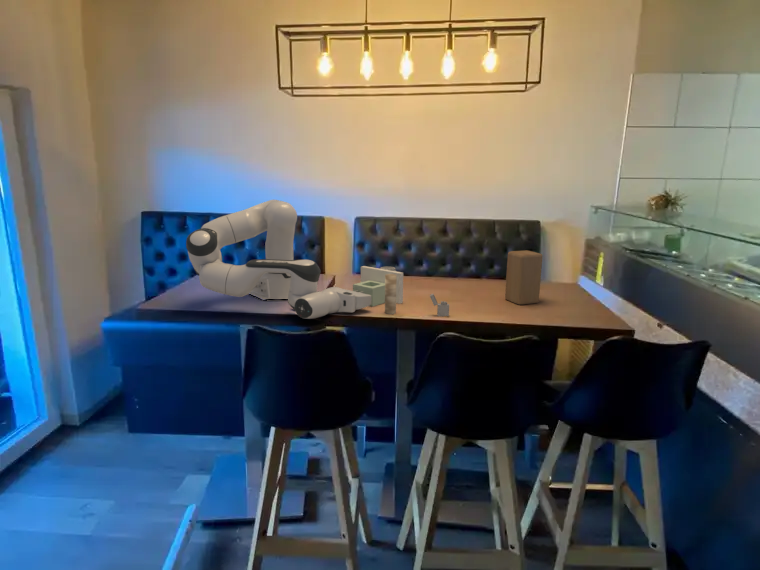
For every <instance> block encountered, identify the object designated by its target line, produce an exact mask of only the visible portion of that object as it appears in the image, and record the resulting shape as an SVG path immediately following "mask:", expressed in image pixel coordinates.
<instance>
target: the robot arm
mask: <svg viewBox="0 0 760 570" xmlns="http://www.w3.org/2000/svg"><path fill="white" fill-rule="evenodd" d="M297 221H298V213H297V210H296V209H295V207H294V206H293V205H292V204H291V203H289V202H287V201H282V200H278V199H269V200H267V201H264V202H260V203H258V204H255V205H253V206H251V207H248V208H246V209H243V210H239V211H236V212H232V213H229V214H225V215H222V216H219V217H217V218H215V219H211V220H210V221H208V222H206V223H204V224H203V225H202V226H201V227H200V228H198V229H196V230H194V231H192V232H190V233H189V234H188V235H187V237H186V240H185V241H186V242H185V245H186V250H187V254H188V259H189V262H190V263H191V265H192V267H193V271H194V272H195V274H196V275H197V277H198V279H199V282H200V285H201V286H202V287H203V288H205V289H208V290H210V291H212V292H215V293H219V294H222V295H224V296H225V295H227V296H232V297H237V298H241V297H246V296H248V295H249V293H250V294H252V295H255V296H257V297H259V298H262V299H288V300H287V303H288V305H289V306H290V307H291V308H292V309H293V311H295V313H296V315H297V316H298V317H300V318H302V319H307V320H311V319H312V320H313V319H316V318H322V317H324V316H326V315H330V314H331V315H332V314H335V313H355V311H356V310H361V309H365V308H368V307H371V306H370V305H371V302H372V298H371V295H368V294H364V292H363V291H358V290H357V291H353V290H349V289H346V288H345V289H344V288H341V287H339V286H331V287H328V288H325V289H322V291H317V290H318V289H317V288H318V284H319V283H318V282H319V281H320V280H319V279H320V276H321V269H320V266H319V265H318V264H317V262H315V261H314V260H312V259H294V240H295V232H296V223H297ZM265 232H266V237H265V238H266V240H265V243H264V244H265V245H264V248H265V249H264V251H265V258H264V259H263V258H262V259H261V258H258V259H257V258H256V259H251V260H248V261H247V262H246V263H245V264H241V265H237V264H231V263H225V262H223V256H222V252H221V249H223V247H226V246H230V245H234V244H236V243H239V242H242V241H246V240H249V239H253V238H255V237H256V236H259V235H261V234H262V233H265Z"/></svg>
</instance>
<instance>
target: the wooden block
mask: <svg viewBox="0 0 760 570" xmlns="http://www.w3.org/2000/svg"><path fill="white" fill-rule="evenodd" d="M543 257H544V256H543V254H542V253H539V252H535V251H532V250H525V249H524V250H511V251H508V253H507V263H506V277H505V292H504V298H505V300H507V301H508V302H511V303H513V304H517V305H519V306H521V305H530V304H537V303H539V302H540V292H541V291H540V290H541V280H542V279H541V278H542V265H543Z"/></svg>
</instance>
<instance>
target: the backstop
mask: <svg viewBox="0 0 760 570" xmlns="http://www.w3.org/2000/svg"><path fill="white" fill-rule="evenodd" d="M396 271H397V270H396ZM396 271H390V270H384V269H380V268H377V267H371V266H366V265H363V266H360V283H361V282H365V281H369V280H372V281H377V282H382V283H385V275H386V274H395V275H397V277H396V304H402V303H403V302H404V272H403V271H402V272H401V271H397V272H396Z"/></svg>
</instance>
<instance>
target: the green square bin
mask: <svg viewBox="0 0 760 570" xmlns="http://www.w3.org/2000/svg"><path fill="white" fill-rule="evenodd" d="M357 290H358V291H363V292H364V294H368V295H371V298H372V302H371V305H370V306H369V307H371V308H372V307H377V306H380V305H382V304H385V283H382V282H377V281H372V280H369V281H365V282H361V281H360V282H357V283H353V284H352V291H357Z"/></svg>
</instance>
